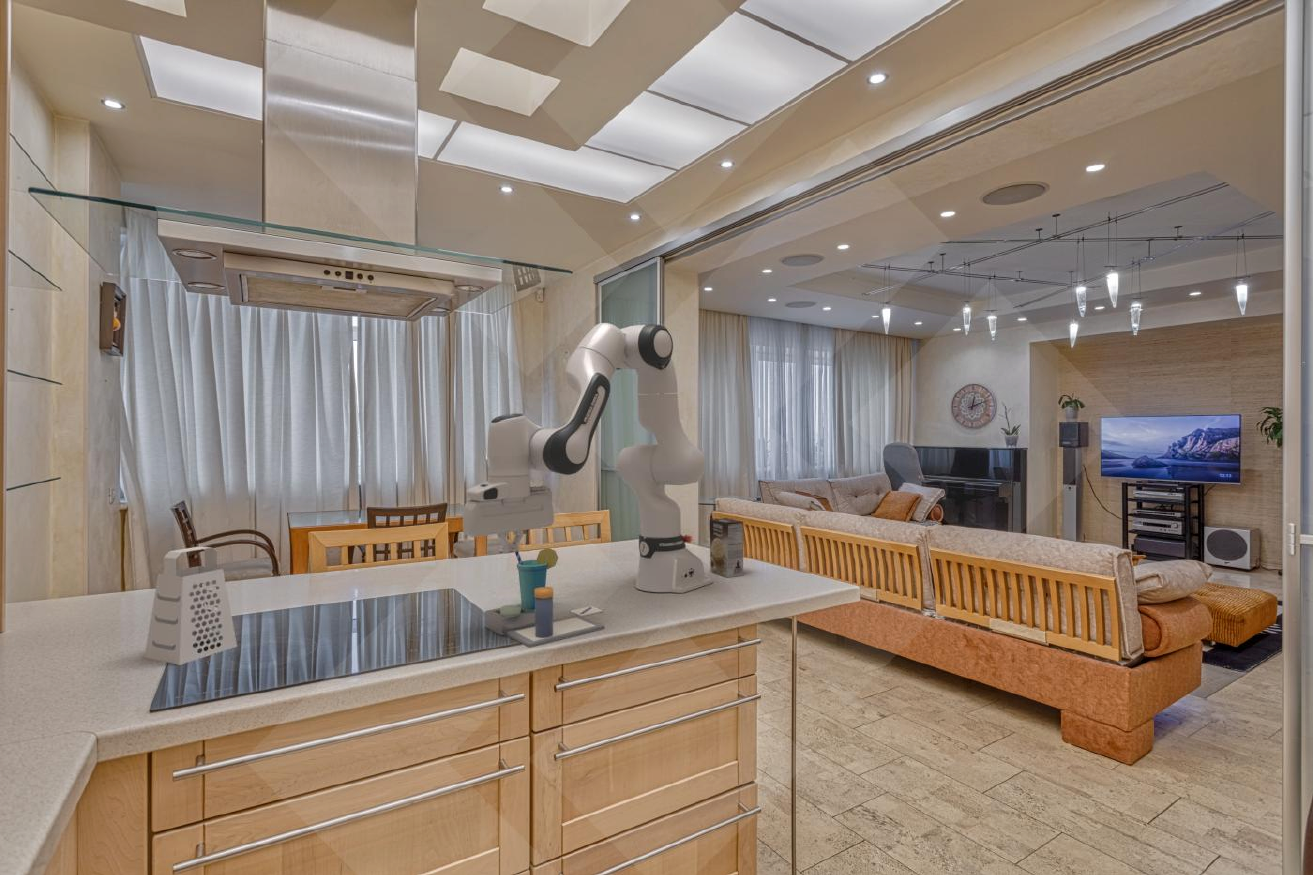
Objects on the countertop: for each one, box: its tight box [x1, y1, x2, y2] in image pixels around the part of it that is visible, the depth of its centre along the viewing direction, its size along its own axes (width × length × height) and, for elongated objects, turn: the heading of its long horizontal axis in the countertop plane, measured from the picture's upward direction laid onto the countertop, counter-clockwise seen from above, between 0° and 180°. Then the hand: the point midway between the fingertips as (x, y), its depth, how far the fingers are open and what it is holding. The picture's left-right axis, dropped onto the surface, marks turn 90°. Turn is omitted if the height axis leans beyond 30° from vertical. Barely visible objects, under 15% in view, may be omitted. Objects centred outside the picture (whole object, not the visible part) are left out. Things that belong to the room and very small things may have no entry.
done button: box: [499, 604, 521, 616], centre depth 134 cm, size 4×4×4 cm
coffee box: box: [709, 517, 744, 578], centre depth 185 cm, size 9×6×16 cm
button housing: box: [484, 604, 535, 636], centre depth 134 cm, size 8×8×4 cm
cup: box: [499, 547, 559, 610], centre depth 150 cm, size 14×8×15 cm, turn 111°
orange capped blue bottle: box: [534, 586, 554, 638], centre depth 127 cm, size 4×4×9 cm
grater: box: [144, 546, 238, 666], centre depth 120 cm, size 10×10×20 cm
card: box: [569, 605, 604, 617], centre depth 146 cm, size 6×5×1 cm
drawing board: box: [505, 615, 605, 648], centre depth 131 cm, size 18×10×1 cm, turn 130°
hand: (510, 551), depth 134 cm, fingers closed
